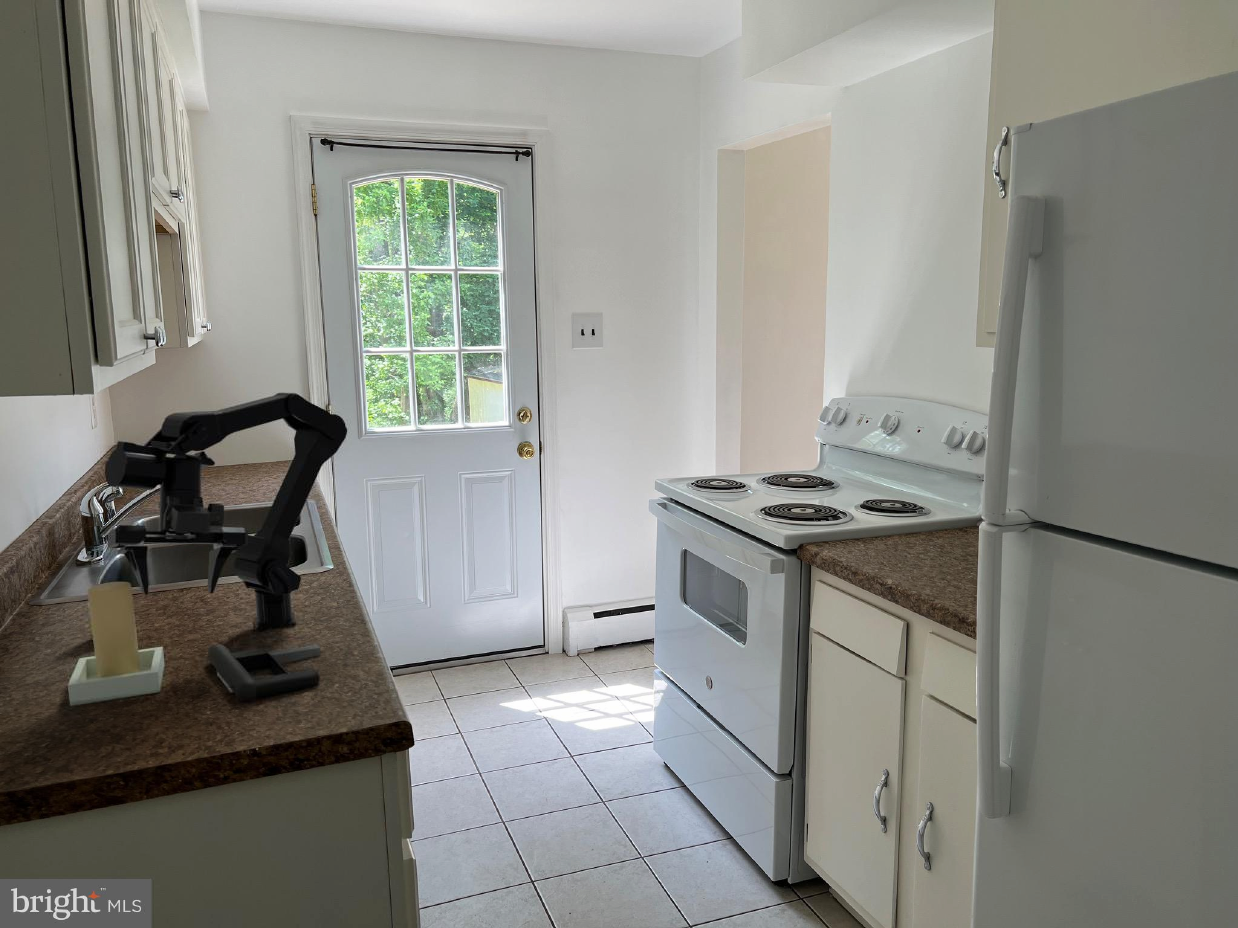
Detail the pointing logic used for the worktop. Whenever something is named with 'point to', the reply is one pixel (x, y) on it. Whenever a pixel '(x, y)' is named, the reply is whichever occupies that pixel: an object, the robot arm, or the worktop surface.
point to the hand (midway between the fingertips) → (179, 594)
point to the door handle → (239, 664)
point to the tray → (116, 679)
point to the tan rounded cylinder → (113, 629)
